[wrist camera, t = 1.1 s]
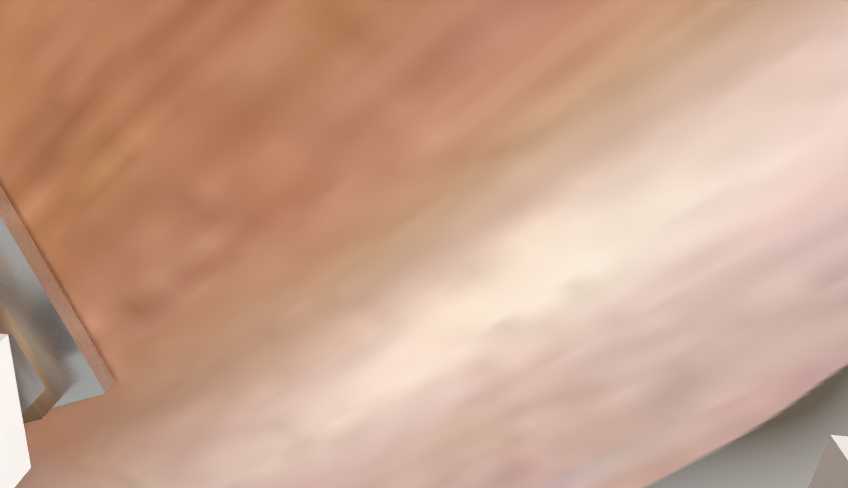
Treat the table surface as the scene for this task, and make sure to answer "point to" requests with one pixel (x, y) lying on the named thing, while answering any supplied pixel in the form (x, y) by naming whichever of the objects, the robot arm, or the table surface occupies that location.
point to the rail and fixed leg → (28, 374)
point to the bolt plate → (46, 315)
